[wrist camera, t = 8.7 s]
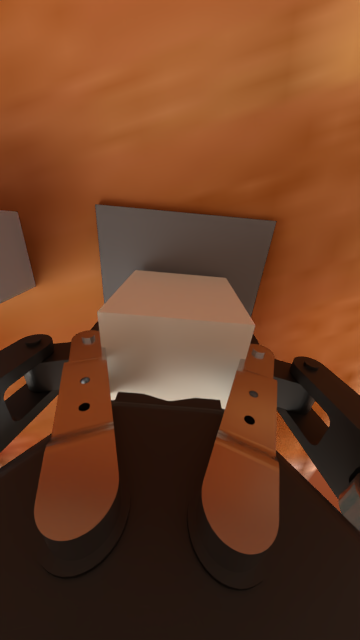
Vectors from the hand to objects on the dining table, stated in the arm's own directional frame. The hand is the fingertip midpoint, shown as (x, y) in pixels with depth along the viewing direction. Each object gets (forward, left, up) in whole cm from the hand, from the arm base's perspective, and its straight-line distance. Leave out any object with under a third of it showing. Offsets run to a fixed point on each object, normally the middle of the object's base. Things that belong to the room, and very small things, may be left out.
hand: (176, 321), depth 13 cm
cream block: (0, 0, -1) cm, 1 cm away
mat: (0, 0, -2) cm, 2 cm away
